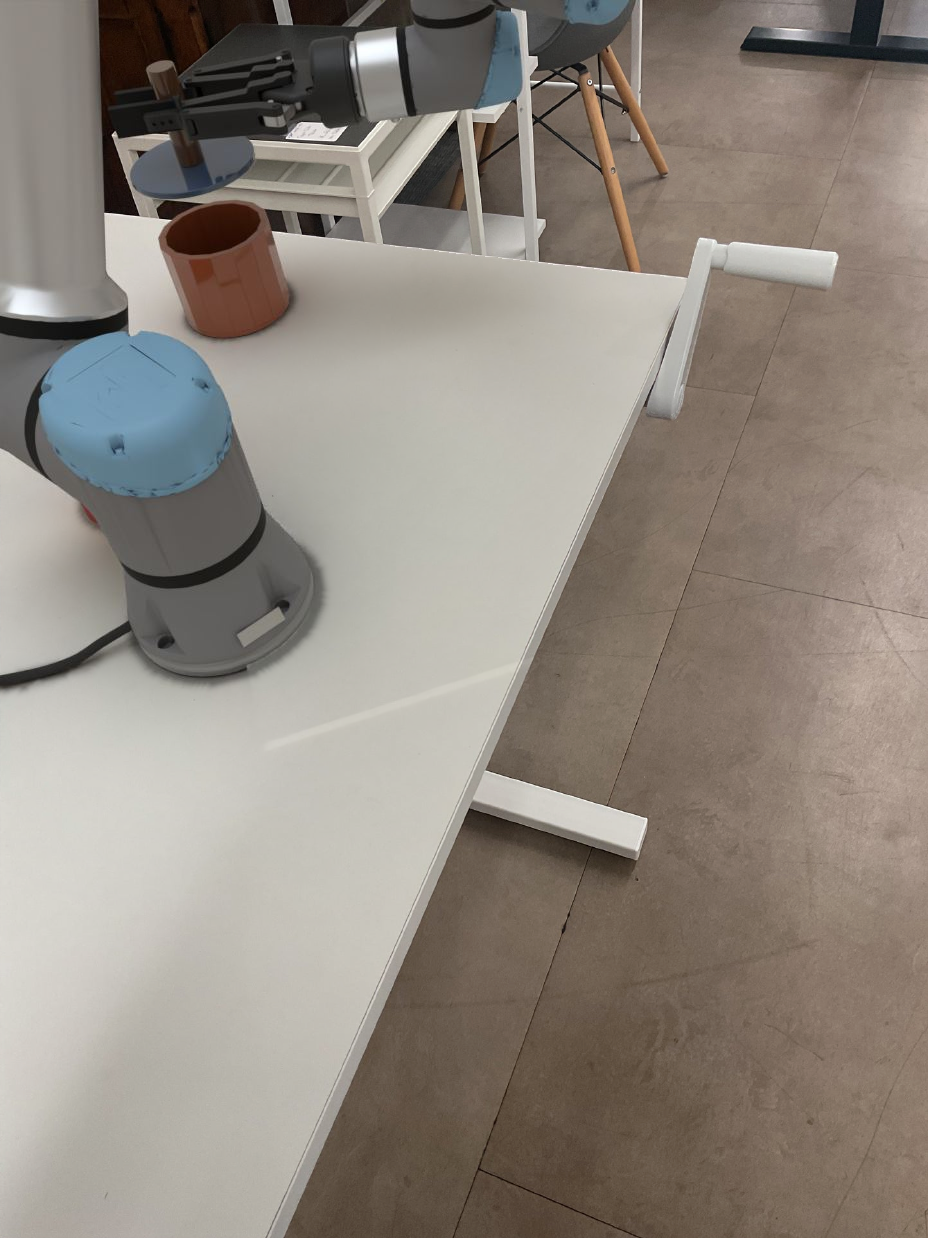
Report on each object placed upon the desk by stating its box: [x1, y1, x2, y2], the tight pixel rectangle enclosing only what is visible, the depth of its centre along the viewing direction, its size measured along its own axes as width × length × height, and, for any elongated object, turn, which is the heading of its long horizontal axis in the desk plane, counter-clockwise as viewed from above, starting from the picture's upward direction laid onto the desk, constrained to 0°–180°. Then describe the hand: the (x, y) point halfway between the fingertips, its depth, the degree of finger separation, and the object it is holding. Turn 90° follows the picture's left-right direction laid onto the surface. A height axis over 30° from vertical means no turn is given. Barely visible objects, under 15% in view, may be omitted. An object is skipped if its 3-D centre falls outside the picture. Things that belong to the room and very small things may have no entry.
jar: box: [157, 199, 291, 339], centre depth 110 cm, size 12×12×10 cm
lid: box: [129, 59, 256, 200], centre depth 97 cm, size 13×13×10 cm
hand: (117, 114), depth 97 cm, fingers closed on lid, 3 cm apart
